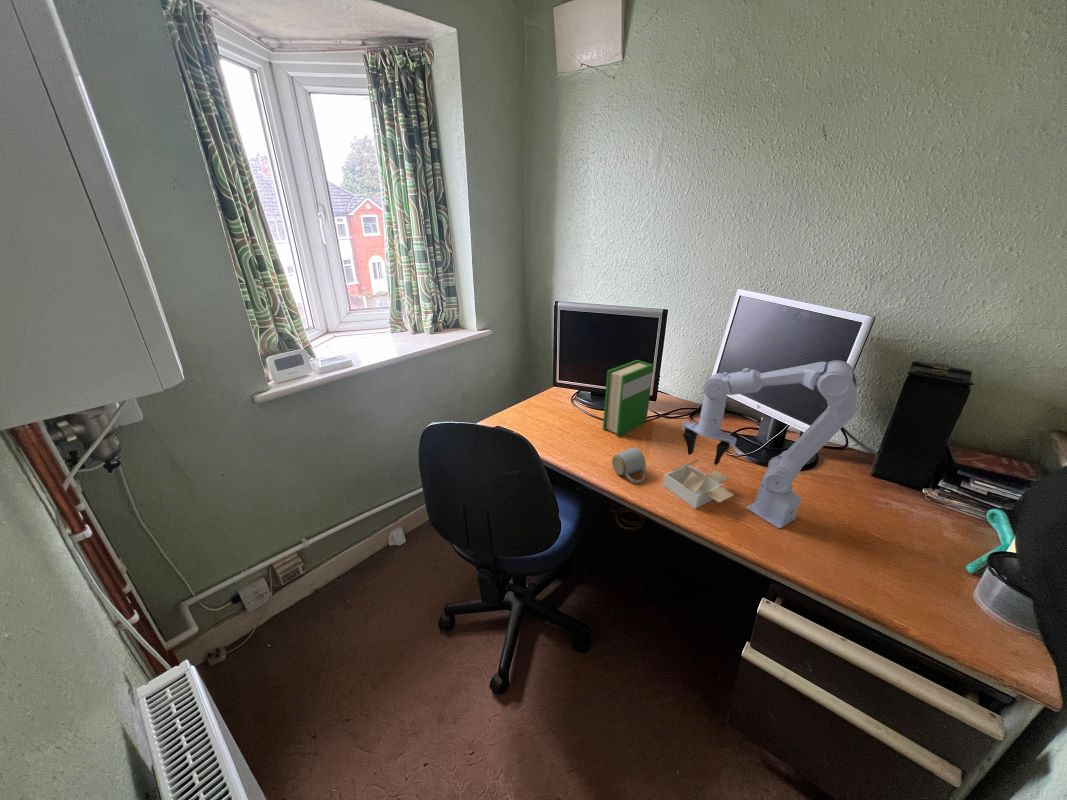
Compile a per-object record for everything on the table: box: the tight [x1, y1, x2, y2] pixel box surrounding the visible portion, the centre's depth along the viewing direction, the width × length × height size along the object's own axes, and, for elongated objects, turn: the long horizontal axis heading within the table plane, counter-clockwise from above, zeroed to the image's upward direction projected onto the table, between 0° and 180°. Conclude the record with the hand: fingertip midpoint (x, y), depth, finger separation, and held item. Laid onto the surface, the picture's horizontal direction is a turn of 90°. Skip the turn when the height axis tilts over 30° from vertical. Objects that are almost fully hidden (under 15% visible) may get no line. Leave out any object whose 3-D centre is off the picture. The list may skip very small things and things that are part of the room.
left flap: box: [682, 472, 706, 493], centre depth 112 cm, size 4×4×1 cm
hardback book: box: [602, 359, 655, 438], centre depth 150 cm, size 18×7×24 cm, turn 131°
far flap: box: [671, 460, 698, 471], centre depth 120 cm, size 5×6×1 cm
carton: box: [662, 465, 734, 510], centre depth 117 cm, size 16×15×4 cm
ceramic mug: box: [611, 447, 646, 484], centre depth 125 cm, size 11×8×8 cm
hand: (703, 458), depth 116 cm, fingers open, 7 cm apart
